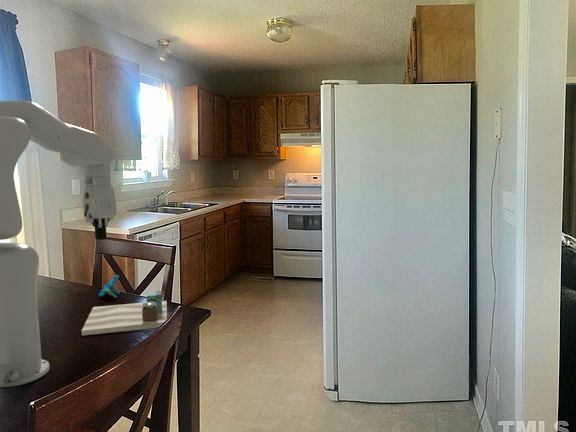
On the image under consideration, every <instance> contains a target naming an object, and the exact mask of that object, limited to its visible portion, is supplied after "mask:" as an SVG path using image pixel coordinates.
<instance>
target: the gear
mask: <svg viewBox="0 0 576 432" xmlns="http://www.w3.org/2000/svg"><path fill="white" fill-rule="evenodd" d="M119 278H120V276H119V275H118V274H115V275H114V276H113V277H112V278H111V279H109V280H108V282H107V283H106V284H104V286H103V287H104V288H101V290H100V292H99V294H98V297H100V298H102V297H104V296H105V295H106V294H107V293H108V295H109V296H113V297H114V298H115V299H117V297H118V296H117V295H120V294H121V291H119V290H118V289H117V288H115V283H117V282H118V280H119ZM115 293H116V294H117V295H116V294H115Z"/></svg>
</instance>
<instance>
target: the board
mask: <svg viewBox="0 0 576 432" xmlns="http://www.w3.org/2000/svg"><path fill="white" fill-rule="evenodd" d="M143 303H144V302H138V303H137V302H136V303H135V302H134V303H125V304H113V305H103V306H102V305H101V306H93V307H92V309H91V311H90V313H89V314H88V317H87V319H86V321H85V323H84V324H83V327H82V329H81V336H89V335H90V336H91V335H100V334H109V333H119V332H121V333H122V332H129V331H140V330H148V329H150V330H151V329H157V327H159V326H160V325H161V324H162V323H164V322H165V321H166V320H167V321H168V307H167V306H168V305H167V300H162V313H158V316H157V319H156V320H144V321H143V319H142V308H143Z"/></svg>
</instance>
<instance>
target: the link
mask: <svg viewBox="0 0 576 432" xmlns="http://www.w3.org/2000/svg"><path fill="white" fill-rule="evenodd" d="M150 301H154V302H156V300H147V299H146V301H145V302H150ZM157 316H158V313H157V304H156V306H154V307H153V308H147V309H146V307H143V308H142V319H143V321H144V320H156V319H157Z"/></svg>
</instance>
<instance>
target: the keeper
mask: <svg viewBox="0 0 576 432" xmlns="http://www.w3.org/2000/svg"><path fill="white" fill-rule="evenodd" d="M146 292H147V293H146V300H156V304H157V313H162V301H163V298H162V295H163V294H162V290H154V291H152V290H151V291H146Z"/></svg>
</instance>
